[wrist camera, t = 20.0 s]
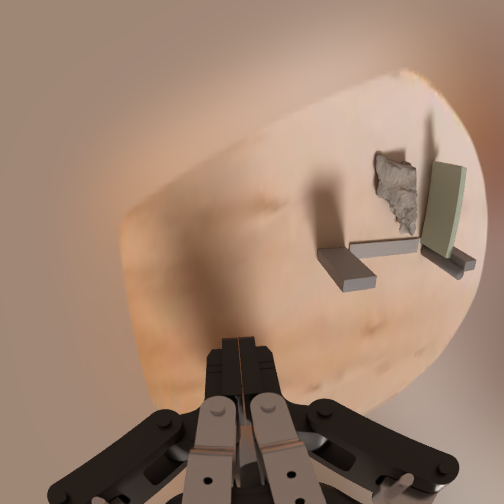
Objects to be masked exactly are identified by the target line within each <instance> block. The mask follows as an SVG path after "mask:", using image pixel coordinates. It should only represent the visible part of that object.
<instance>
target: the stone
mask: <svg viewBox="0 0 504 504" xmlns="http://www.w3.org/2000/svg"><path fill="white" fill-rule="evenodd" d="M376 161H377V163H376V166H375V167H376V172H377V174H378V178H379V184H378V188H377V193H376V195H377V196H378V197H379V198H385V199H387V200H388V202H389V204H390V211H391V212H392V213H393V214H394V215H395V216H396V217H397V221H398V222H399V223H400V228H399V230H400V233H401V234H403V233H410V235H411V236H413V235H414V232H415V229H416V225H415V222H416V218H417V213H416V211H417V208H416V207H417V204H416V198H417V193H416V192H417V191H416V168H414V167H412V166H411V164H410V163H409V162H406V161H404V162H403V163H402V164H400V163H396V162H394V161H390V160H388V159H387V158H386V157H385V156H383V155H380V154H378V155H377V156H376Z"/></svg>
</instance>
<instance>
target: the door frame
mask: <svg viewBox="0 0 504 504" xmlns="http://www.w3.org/2000/svg"><path fill="white" fill-rule="evenodd" d="M418 242H419V239H406V240H394V241H382V242H370V243H357V244H350V246H349V250H348V249H347V248H346V247H339V248H327V249H318V261H319V262H320V263H321V265H322V266H323V267H324V268H325V270H326V271H327V272H328V274H329V275H330V276H331V278H332V279H333V280H334V281H335V283H336V284H337V285H338V287H339V288H340V289H341V291H342V292H350V291H357V290H364V289H371V288H375V284H376V278H377V276H376V275H375V274H374V273H373V272H372V271H371V270H370V269H369V268H368V267H367V266H366V265H364V264H363V263H362V262H361V261H360V260H359V259H360V258H370V257H379V256H389V255H398V254H407V253H415V252H417V249H418ZM421 255H423V256H424V257H426V258H427V259H429V260H430V261H432V262H433V263H434V264H436V265H437V266H439V267H440V268H442V269H443V270H444V271H446V272H447V273H449V274H450V275H451V276H453V277H454V278H456V279H457V280H460V279H461V278H462V277H463V274H464V271H469V270H473V269H474V268H475V264H476V259H474V258H472V257H471V256H469V255H467V254H466V253H464V252H462V251H461V250H459V249H457V248H455V247H454V246H453V249H452V253H451V257H450V258H445V257H443V256H441V255H440V254H438V253H437V252H435V251H433V250H432V249H430V248H429V247H427V246H424V247H423V248H422V249H421Z"/></svg>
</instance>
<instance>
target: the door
mask: <svg viewBox="0 0 504 504" xmlns="http://www.w3.org/2000/svg"><path fill="white" fill-rule="evenodd" d="M466 169H467V168H465V167H462V166H458V165H453V164H448V163H442V162H437V161H433V165H432V174H431V183H430V191H429V198H428V204H427V210H426V216H425V221H424V227H423V232H422V237H421V241H420V243H422V244H424V245H425V246H427V247H429V248H430V249H432V250H433V251H435V252H437V253H438V254H440V255H441V256H443V257H445V258H450V257H451V253H452V249H453V245H454V241H455V237H456V232H457V227H458V223H459V217H460V212H461V206H462V200H463V193H464V186H465V178H466Z"/></svg>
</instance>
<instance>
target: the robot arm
mask: <svg viewBox="0 0 504 504" xmlns="http://www.w3.org/2000/svg"><path fill="white" fill-rule="evenodd" d="M239 346H240V358H241V370H242V381H243V386H241V373H240V361H239V350H238V338H222V349H213V350H211V352H210V353H209V355H208V356H207V367H206V384H205V399H204V402H203V403H202V404H201V406H200V407H199V408H198V409H196V410H195V411H192V412H189V413H185V414H181V415H179V414H178V413H177V412H175V411H173V410H169V409H162V410H158V411H156V412H154V413H153V414H151V415H150V416H149V417H148V418H146V419H145V420H144V421H142V422H141V423H140V424H138V425H137V426H136V427H135V428H133V429H132V430H131V431H129V432H128V433H127V434H125V435H124V436H123V437H122V438H120V439H119V440H117V441H116V442H114V443H113V444H112V445H110V446H109V447H108V448H106V449H105V450H103V451H102V452H101V453H99V454H98V455H96V456H95V457H94V458H92V459H91V460H89V461H88V462H86V463H85V464H83V465H82V466H80V467H79V468H77V469H76V470H74V471H73V472H71V473H70V474H68V475H67V476H65V477H64V478H62V479H61V480H59V481H57V482H56V483H54V484H53V485H51V487H50V488H49V490H48V493H47V498H48V501H49V503H50V504H144V503H145V502H146V501H147V500H149V499H150V498H151V497H152V496H154V495H155V494H156V493H157V492H158V491H160V490H161V489H162V488H163V487H164V486H165V485H166V484H168V483H169V482H170V481H171V480H172V479H173V478H175V477H176V476H177V475H178V474H179V473H180V472H181V471H182V470H183V469H184V468H185V467H187V470H186V476H185V483H184V491H183V493H181V494H179V495H177V496H175V497H173V498H172V499H170V500H169V501H168V502H167V503H166V504H362V503H360V502H358V501H356V500H354V499H353V498H351V497H349V496H348V495H346V494H344V493H342V492H341V491H340V490H338V489H336V488H334V487H332V486H330V485H327V484H324V483H320V482H318V480H317V477H316V474H315V471H314V469H313V466H312V463H311V460H310V458H309V456H310V457H311V458H313V459H315V460H316V461H318V462H319V463H321V464H323V465H324V466H326V467H327V468H329V469H331V470H333V471H334V472H336V473H338V474H339V475H341V476H343V477H345V478H347V479H349V480H350V481H352V482H354V483H356V484H358V485H360V486H361V487H363V488H365V489H367V490H369V491H371V492H373V494H372V502H373V504H432V502H433V500H434V499H435V497H436V495H437V493H438V492H439V491H440V490H441V489H443V488H444V487H445V486H447V485H448V484H449V483H451V482H452V481H453V480H454V479H455V478H456V477H457V475H458V472H459V463H458V461H457V459H456V458H455V457H453V456H452V455H450V454H447V453H444V452H442V451H439V450H437V449H434V448H432V447H429V446H427V445H424V444H422V443H419V442H417V441H415V440H413V439H410V438H408V437H406V436H404V435H401V434H399V433H397V432H395V431H393V430H390V429H388V428H386V427H384V426H382V425H380V424H378V423H376V422H374V421H371V420H370V419H368V418H366V417H364V416H362V415H360V414H358V413H356V412H354V411H352V410H351V409H349V408H347V407H345V406H343V405H341V404H339V403H338V402H336V401H334V400H331V399H318V400H316V401H314V402H312V403H311V404H310V405H309V406H308V405H299V404H294V403H291V402H289V401H287V400H286V399H285V398H284V397H283V395H282V394H281V390H280V386H279V381H278V377H277V372H276V369H275V363H274V359H273V354H272V352H271V351H270V350H269V349H268V347H267V346H258V347H256V346H255V339H254V336H251V337H239Z"/></svg>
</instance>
